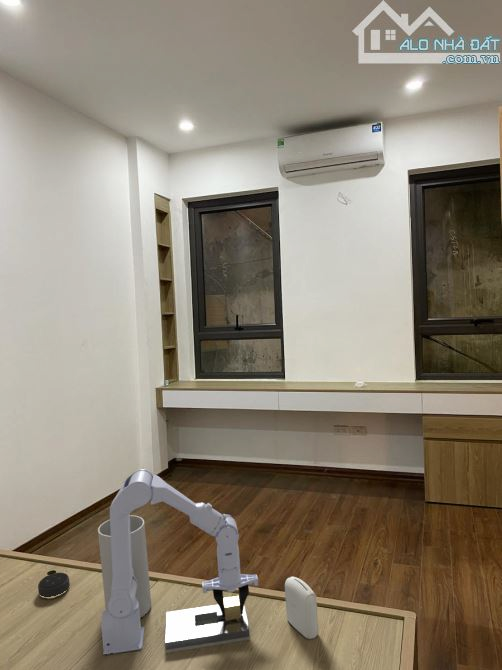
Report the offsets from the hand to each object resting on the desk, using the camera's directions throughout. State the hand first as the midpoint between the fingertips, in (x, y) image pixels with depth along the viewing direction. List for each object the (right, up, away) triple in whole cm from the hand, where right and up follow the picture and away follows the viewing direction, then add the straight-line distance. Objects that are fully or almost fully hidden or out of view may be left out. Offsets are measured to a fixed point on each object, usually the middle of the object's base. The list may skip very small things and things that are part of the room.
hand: (232, 613), depth 129 cm
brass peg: (0, -3, 0) cm, 3 cm away
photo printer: (+18, -3, -2) cm, 19 cm away
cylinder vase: (-30, -5, +10) cm, 32 cm away
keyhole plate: (-7, -4, -1) cm, 8 cm away
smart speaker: (-55, -6, +22) cm, 60 cm away
